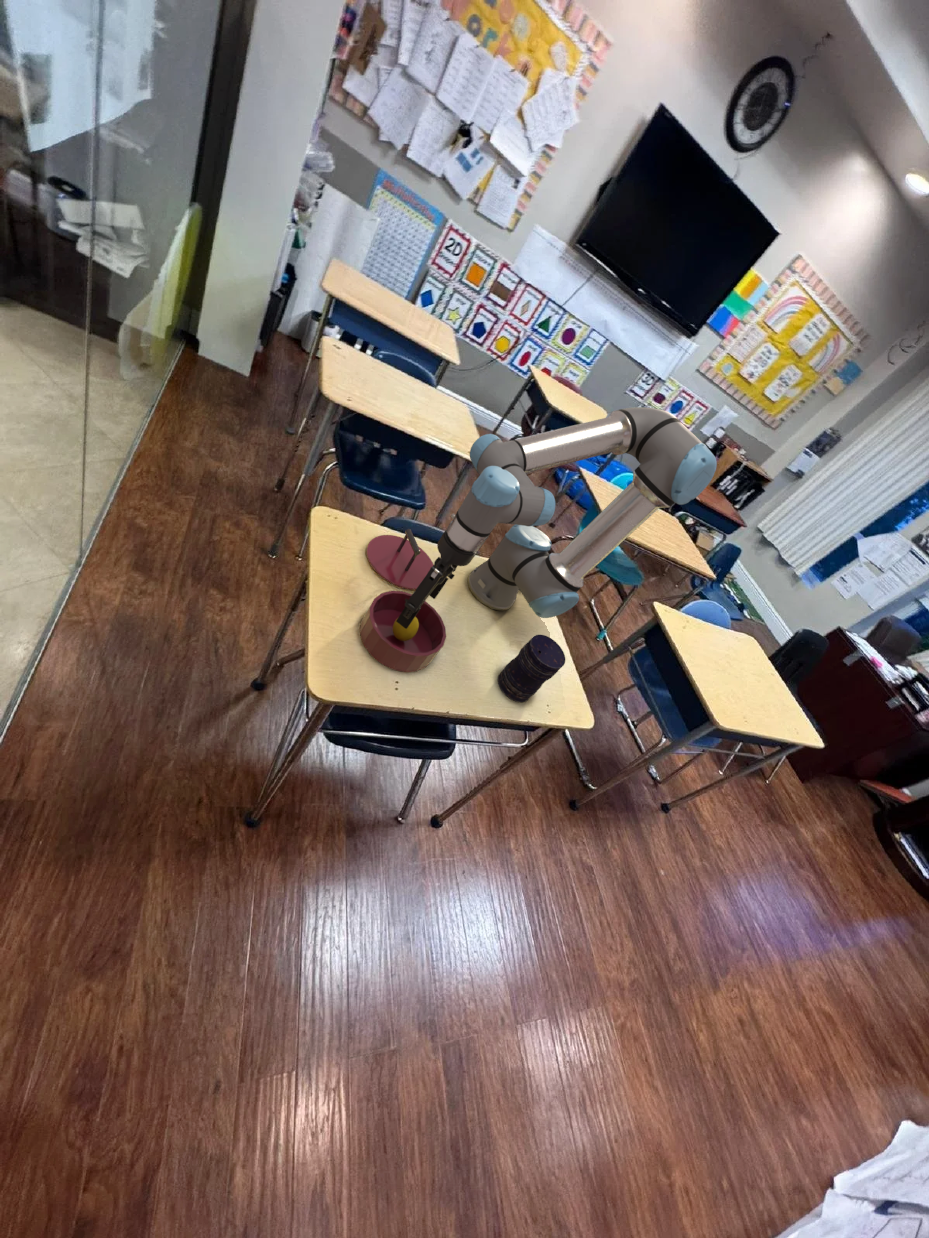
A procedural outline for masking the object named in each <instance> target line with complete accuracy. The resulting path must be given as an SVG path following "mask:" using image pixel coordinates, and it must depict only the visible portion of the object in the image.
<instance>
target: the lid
mask: <svg viewBox="0 0 929 1238" xmlns="http://www.w3.org/2000/svg"><path fill="white" fill-rule="evenodd" d="M404 533H405V535H404V536H403V537H402V536H397V535H392V534H383V535H378V536H375V537H374V538H372V539H371V540H370V541H369V542H368V544H367V546H366V558H367V561H368V563H369V565H370V566H371V568H372V570H374V571H375V573H376V574H377V575H378V576H380V578H382V579H383V580H384V581H386V582H388V583H389V584H391V585H393V586H396V587H397V588H401V589H405V590H411V591H415V590H416V589H417V587H418V586H419V585H420V583H421V582H422V581H423V579H424V578H425V576H426V575H427V573H428V572H429V570H430V568H431V567H432V566H433V565H434V562H433V561H432V559H431V557H430V556H429V555H428V553H426V552H425V550H424V549H422V548H421V547H420V546H419V545H418V542H417V540H416V538H415V536H414V533H413V531H412V529H411V528H407V529H405V532H404Z"/></svg>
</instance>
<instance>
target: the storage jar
mask: <svg viewBox="0 0 929 1238" xmlns="http://www.w3.org/2000/svg"><path fill="white" fill-rule="evenodd" d="M565 664H566V655H565V652H564V651H563V649H562V647H561V646H560V645H559V644H558V642H556V640H554V639H553V638H551V637H550V636H547V635H545V634H535V635H533V636H532V637H531V638H530V640H528V641H527V642H526V643H525V644H524V645H523V646H522V648H521V649H520V650H519V652H518V654H517V655H516V656H515V657H514V658H512V659H511V660H510V661H509V662H508V663H507V664H506V665H505V666H504V667H503V669H502V670H501V671H500V672H499V674H497V675H498V676H497V683H498V684H497V685H498V686H499V689H500V690H501V692H502V693H503V694H504V696H505V697H507V698H508V699H510V700H511V701H514V702H516V703H525V702H527V701H528V700H529V699H531V697H533V696H534V695H535V694H536V693H538V691H539V690H540V689H541V688H542V686H543V684H545V683H546V682H547V681H549V680H551V679H552V678H553V677H554V676H555V675H556V674H557V673H558V672H559V671H560V669H562V667H564V666H565Z"/></svg>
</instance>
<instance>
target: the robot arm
mask: <svg viewBox="0 0 929 1238" xmlns="http://www.w3.org/2000/svg"><path fill="white" fill-rule="evenodd" d="M606 454H613V455H614V456H615V455H616V456H622V455H625V454H628V455H630V456H632V457H633V458H635V460H636V461H637V462H638V463H639V465H638V466H637V467H636V468H635V469H634V470H633V471H632V473H633V474H632V481H631V482H630V484H628V485H627V486H626V487H625V488H624V489H623V490H622V491H621V492H620V493H619V494H618V495H617V496H616V497H615V498H614V499H613V500H612V501H611V502H610V503H609V504H608V505H607V506H606V507H604V509H603V510H602V511H600V513H599V514H597V516H596V517H595V518H594V519H593V520H591V522H590V523H588V524H587V525H586V527H585V528H583V529H582V531H580V532H579V533H578V534H577V535H576V536H575V538H573V539H572V540H571V541H570V542H569V543H568V544H567V545H566V546H565V547H564V548H563V549H562V550H561V551H560V552H551V553H549V551H551V548H552V541H551V539H550V538H549V536H547V534H546V533H545V532H543V531H542V530H540V529H539V528H537V527H539V526H540V527H541V526H544V525H546V524H548V523H549V522H550V521H551V520H552V518H553V516H554V514H555V511H556V499H555V496H554V494H553V493H552V491H550V490H549V489H546V488H543V487H542V486H536V484H534V483H533V480H531V478H530V477H529V476H528V475H531V474H534V473H538V472H542V471H547V470H549V469H553V468H557V467H560V466H561V467H562V466H564V465H565V466H566V465H569V464H573V463H576V462H580V461H584V460H587V459H591V458H595V457H598V456H603V455H606ZM469 458H470V461H471V463H472V465H473V467H474V468H475V471H476V473H478V474H479V476H477V479H475V480H474V482H473V483H472V485H471V487H470V489H469V491H468V492H467V494H466V496H465V498H464V499H463V501H462V503H461V505H460V507H459V508H458V509H457V511H456V513H452V514H451V515H450V518H451V521H450V522H449V524H448V526H447V527H446V529H445V530H444V531H443V533H442V535H441V536H440V538H439V540H438V541H437V544H436V545H437V546H436V547H437V548H436V549H437V550H438V553H439V554H440V556H438V557H437V558H436V559H435V561H434V562H433V566H432V567H431V568H430V570H429V572H428V573H427V575H426V576H425V578H424V579H423V581H422V582H421V583H420V585H419V586H418V587H417V589H416V590H413V593H411V594H412V596H411V597H410V598H409V600H408V599H405V602H406V603H405V608H404V609H403V611H402V613H401V614H400V616H399V617H398V619H397V621H396V622H398V623H399V624H400V625H401V626H403V627H404V628H405V629H407V628H408V627H409V625H410V623H411V622H412V620H413V619H414V617H415V616H416V614H417V613H418V611H419V610H420V608H421V605H422V604H423V603H424V601H426V600H427V599H428V598H429V597H431V598H432V599H433V600H435V599H436V598H437V597H438V595H439V594H440V592H441V591H442V589H443V588H444V586H445V585H446V584H447V582H448V580H449V579H450V580H453V579H454V577H455V574H453V573H454V572H456V570H457V568H458V567H465V566H468V565H470V563H471V562H472V561H473V560H474V558H475V556H476V555H477V554H478V551H479V550H480V549H481V548H482V547H483V545H484V544H485V543H486V541H487V539H488V538H489V536H491V533H492V532H493V530H494V529H495V527H497V525H498V524H504V525H506V524H507V525H513V526H511V527H510V529H509V530H508V531H507V532H505V535H504V536H503V537H502V539H501V540H500V542H499V543H498V544H497V546H496V548H495V549H494V551H493V552H492V553H491V554H490V556H489V558H488V559H487V560H486V561H483V562H482V563H480V565H478V566H477V567H475V568H474V569H473V570H472V571H471V572H470V573H469V575H468V577H467V586H468V589H469V590H470V592H471V594H472V596H474V598H475V599H476V600H477V601H479V603H481V604H482V605H484V606H485V607H487V608H488V609H489V608H490V609H492V610H495V611H507V610H509V609H511V607H512V606H513V605H514V604H515V602H516V600H517V596H518V592H520V594H521V595H522V596H523V598H524V599H525V601H526V603H527V605H528V607H529V608H531V610H532V611H533V612H534V615H536V616H537V617H539V618H541V619H551V618H554V617H557V616H560V615H563V614H564V613H567V612H568V611H570V610H571V609H572V608H574V607H575V606H577V604H578V602H579V601H580V597H579V593H578V592H579V590H581V589H582V587H584V582H585V581H584V580H585V579H584V578H585V577H586V576H587V575H588V574H589V573H590V572H592V570H593V569H595V568H596V567H597V566H598V565H599V564H600V563H601V562H602V561H604V560H605V559H606V558H607V557H608V556H609V555H610V554H611V553H612V552H613V551H614V550H615V549H617V548H618V546H620V545H621V544H622V543H623V542H625V540H626V539H627V538H628V537H630V535H631V534H633V533H634V532H635V531H636V530H638V528H639V527H640V526H642V524H644V523H645V522H646V521H647V520H648V519H649V518H650V517H651V516H652V515H654V513H656V512H657V511H658V510H659V509H664V508H671V507H672V506H673V505H674V504H677V505H682V506H683V505H686V504H688V503H689V502H691V501H693V500H694V499H697V497H698V496H700V494H702V492H704V490H705V489H706V488H707V487H708V486H709V484H710V483H711V481H712V479H713V478H714V476H715V472H716V471H717V465H718V464H717V463H718V462H717V458H716V456H715V455H714V453H713V452H712V451H711V450H710V449H709V448H708V446H707V444H705V443H703V442H702V441H701V440H700V439H699V438H698V437H697V436H696V435H695V434H694V433H693V432H692V431H691V430H690V429H689V428H688V427H687V426H686V425H684V424H683V423H682V422H681V421H680V419H678V417H677V416H675V415H674V414H672V413H671V412H669V411H666V410H664V409H661V408H654V407H644V406H642V407H641V406H635V407H634V406H633V407H626V408H620V409H616V410H612V411H610V412H609V413H608V414H606V416H605V417H603V418H599V419H595V420H591V421H587V422H586V421H585V422H582V423H578V424H574V425H569V426H566V427H560V428H557V429H552V430H549V431H544V432H541V433H537V434H532V435H528V436H523V437H519V438H516V439H512V440H507V441H503V440H502V438H500V437H499V436H497V435H496V434H493V433H486V434H483V435H481V436H480V437H478V438H477V439H476V440H475V441H473V443H472V445H471V447H470V450H469Z"/></svg>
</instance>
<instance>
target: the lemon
mask: <svg viewBox="0 0 929 1238" xmlns="http://www.w3.org/2000/svg"><path fill="white" fill-rule="evenodd" d="M397 619H398V618H397ZM397 619H396V621H397ZM396 621H395V622H394V625H393V634H394V636H395V637H396V638H397V639H399V640H401V641H407V640H410V639H412V638H413V637H414V636H415V635H416V633H417V631H418V627H419V622H418V619H417V618H416V617H414V619H413V620H412V622H411V623H410V625H409V627H408V628H407V629H405V628H404V627H403V626H401V625H400V624H399V623H398V622H396Z"/></svg>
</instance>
